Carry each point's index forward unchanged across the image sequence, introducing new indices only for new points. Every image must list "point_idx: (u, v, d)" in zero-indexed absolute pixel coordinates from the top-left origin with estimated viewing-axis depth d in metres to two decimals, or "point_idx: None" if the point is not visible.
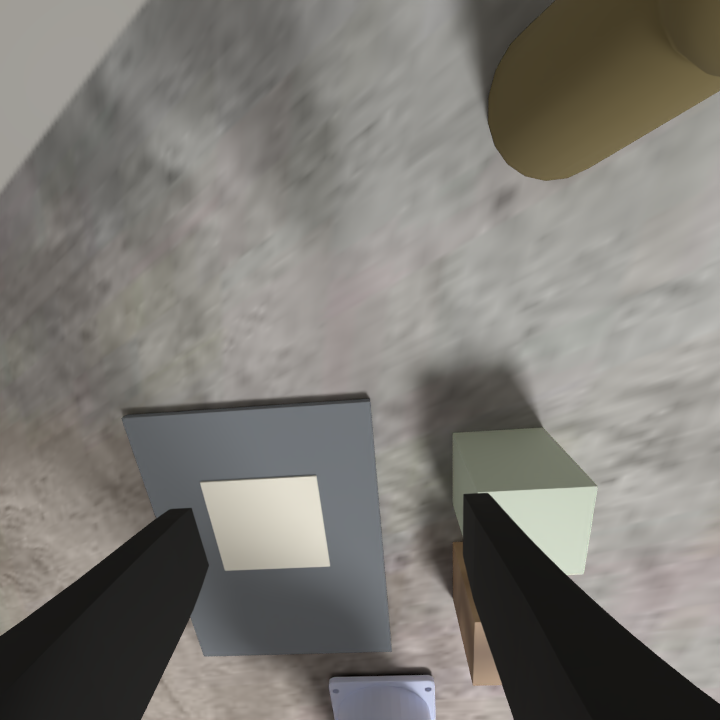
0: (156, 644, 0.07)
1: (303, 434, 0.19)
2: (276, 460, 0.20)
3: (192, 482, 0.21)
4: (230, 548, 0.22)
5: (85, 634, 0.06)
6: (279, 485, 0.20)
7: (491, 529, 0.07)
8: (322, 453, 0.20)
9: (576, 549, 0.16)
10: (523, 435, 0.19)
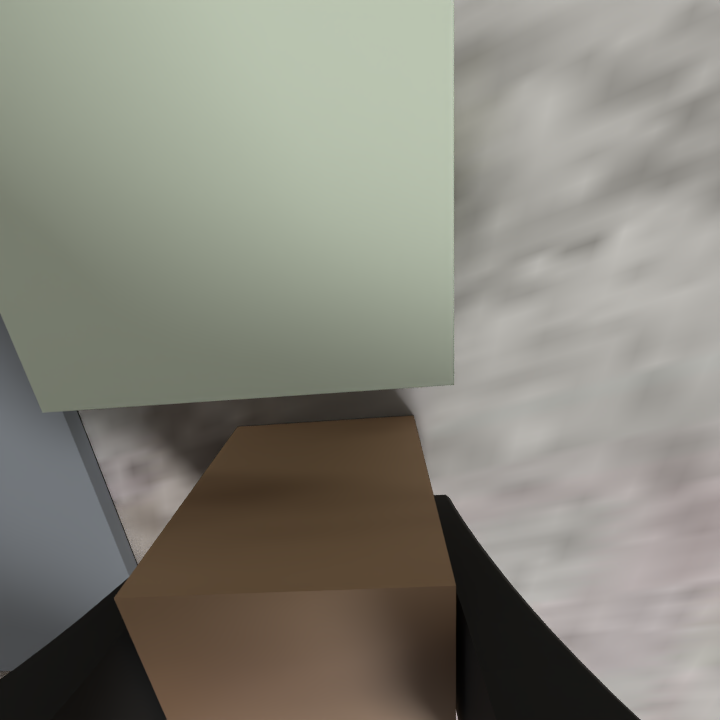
0: None
1: None
2: None
3: None
4: None
5: None
6: None
7: None
8: None
9: (404, 247, 0.03)
10: None
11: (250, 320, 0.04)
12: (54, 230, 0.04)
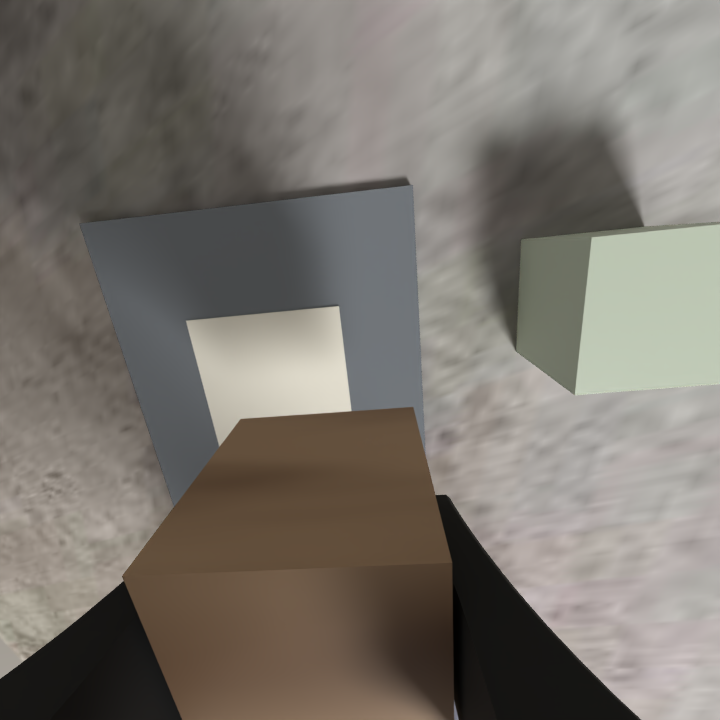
0: None
1: (321, 242, 0.14)
2: (286, 284, 0.15)
3: (176, 322, 0.16)
4: (228, 419, 0.17)
5: (142, 632, 0.06)
6: (290, 321, 0.15)
7: None
8: (347, 271, 0.15)
9: None
10: (622, 229, 0.14)
11: (667, 361, 0.11)
12: (612, 334, 0.11)
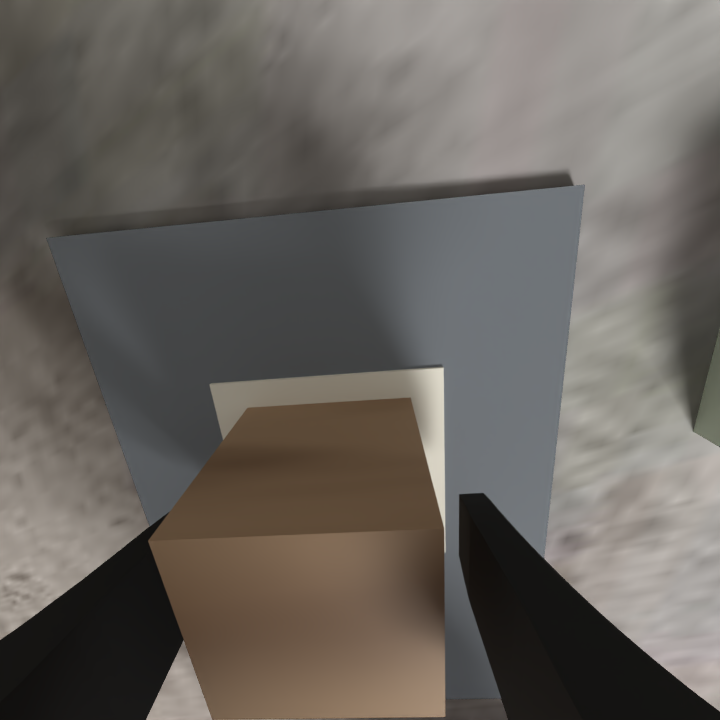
0: (161, 644, 0.07)
1: (426, 272, 0.09)
2: (365, 334, 0.10)
3: (194, 385, 0.11)
4: None
5: (90, 633, 0.06)
6: (368, 389, 0.10)
7: (486, 529, 0.07)
8: (461, 316, 0.10)
9: None
10: None
11: None
12: None
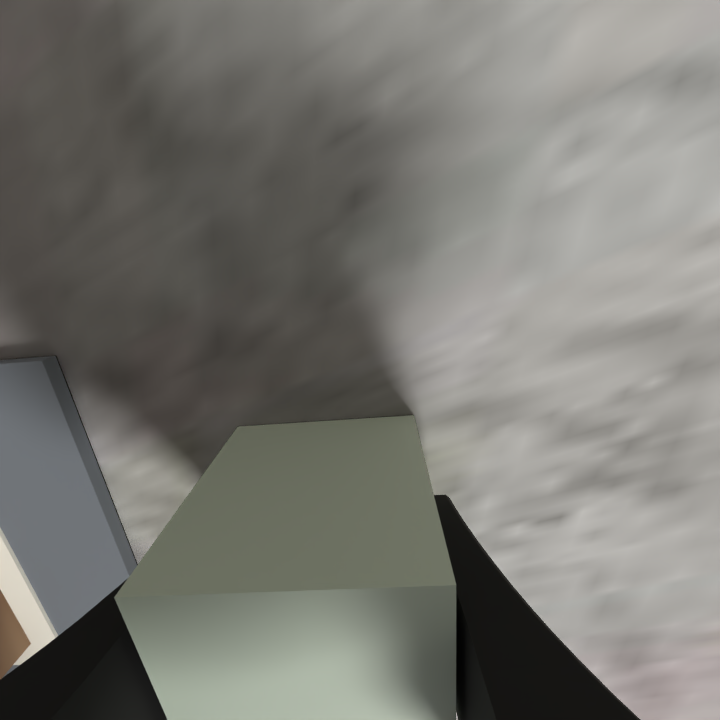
0: None
1: None
2: None
3: None
4: None
5: None
6: None
7: None
8: None
9: None
10: (364, 432, 0.09)
11: None
12: (220, 719, 0.06)
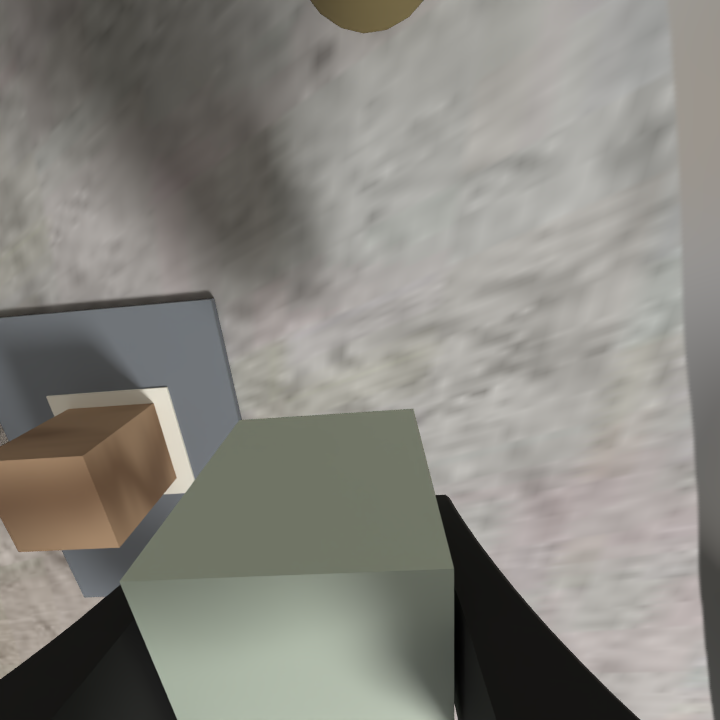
0: None
1: (146, 339, 0.18)
2: (123, 370, 0.19)
3: (39, 396, 0.19)
4: None
5: None
6: (130, 398, 0.19)
7: None
8: (170, 361, 0.18)
9: (425, 717, 0.06)
10: (364, 425, 0.09)
11: None
12: (222, 704, 0.06)
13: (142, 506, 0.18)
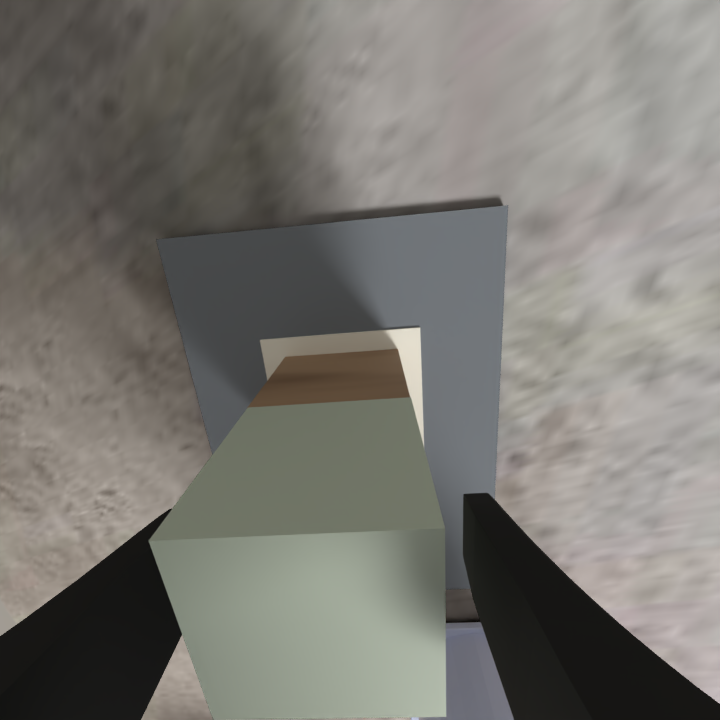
0: (156, 645, 0.07)
1: (407, 262, 0.14)
2: (366, 304, 0.15)
3: (249, 341, 0.15)
4: None
5: (85, 634, 0.06)
6: (368, 342, 0.15)
7: (491, 529, 0.07)
8: (431, 292, 0.14)
9: (420, 668, 0.07)
10: (365, 411, 0.10)
11: (336, 690, 0.07)
12: (237, 656, 0.07)
13: None
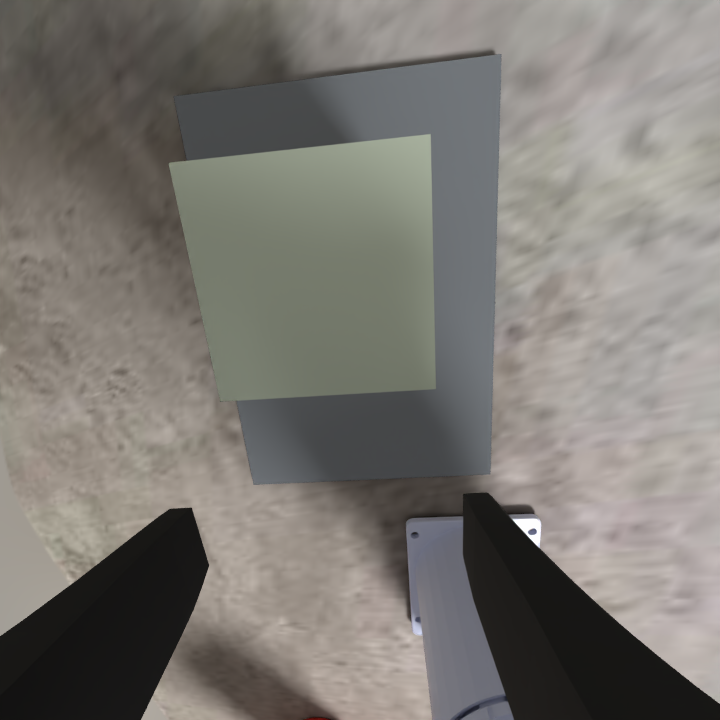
0: (156, 644, 0.07)
1: (407, 115, 0.15)
2: None
3: None
4: None
5: (85, 634, 0.06)
6: None
7: (491, 529, 0.07)
8: None
9: (411, 322, 0.07)
10: None
11: (334, 355, 0.08)
12: (244, 313, 0.07)
13: None
